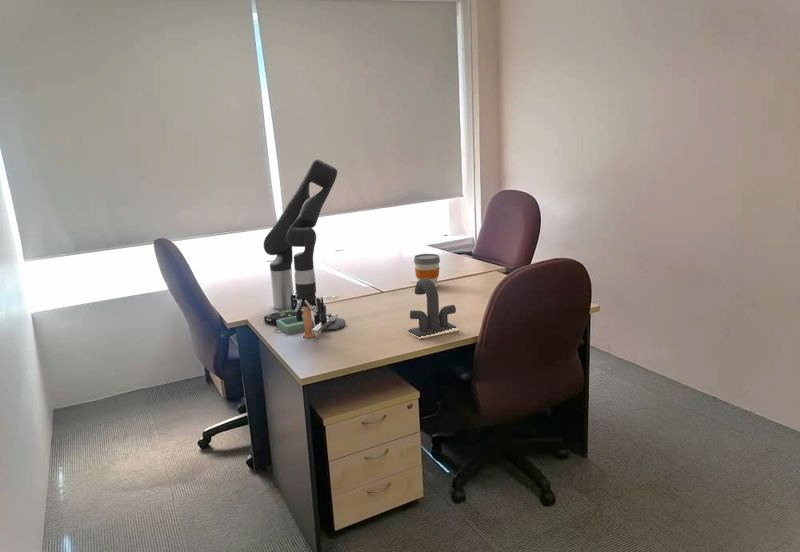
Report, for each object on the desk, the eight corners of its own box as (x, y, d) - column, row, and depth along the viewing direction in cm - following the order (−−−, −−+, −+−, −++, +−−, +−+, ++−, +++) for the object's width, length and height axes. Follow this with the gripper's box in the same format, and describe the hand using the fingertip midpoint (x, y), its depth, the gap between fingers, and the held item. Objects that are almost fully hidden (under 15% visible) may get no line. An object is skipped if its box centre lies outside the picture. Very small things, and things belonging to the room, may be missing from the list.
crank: (329, 317, 236) (327, 298, 234) (340, 318, 235) (339, 298, 233) (308, 333, 217) (306, 313, 215) (320, 334, 216) (319, 313, 214)
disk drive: (282, 326, 232) (307, 316, 244) (281, 320, 231) (306, 310, 243) (264, 323, 238) (289, 313, 250) (263, 316, 237) (289, 307, 249)
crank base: (310, 325, 233) (310, 321, 232) (337, 319, 239) (336, 315, 239) (323, 333, 223) (323, 329, 223) (350, 326, 229) (350, 323, 229)
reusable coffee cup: (445, 286, 284) (445, 256, 280) (426, 291, 276) (426, 260, 272) (428, 281, 293) (427, 252, 290) (409, 286, 285) (408, 256, 282)
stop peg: (301, 335, 221) (298, 305, 218) (311, 333, 223) (309, 303, 220) (306, 338, 217) (303, 308, 214) (316, 336, 220) (314, 306, 217)
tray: (277, 327, 232) (276, 320, 231) (302, 321, 238) (301, 314, 237) (287, 334, 223) (287, 327, 222) (313, 328, 229) (313, 321, 228)
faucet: (438, 319, 234) (437, 271, 229) (459, 330, 220) (459, 279, 215) (398, 328, 226) (396, 278, 221) (418, 339, 212) (416, 287, 207)
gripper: (283, 281, 216) (287, 322, 220) (313, 285, 208) (316, 328, 212) (297, 276, 222) (300, 317, 226) (326, 280, 215) (329, 322, 218)
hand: (308, 322), depth 219 cm, fingers open, 8 cm apart
